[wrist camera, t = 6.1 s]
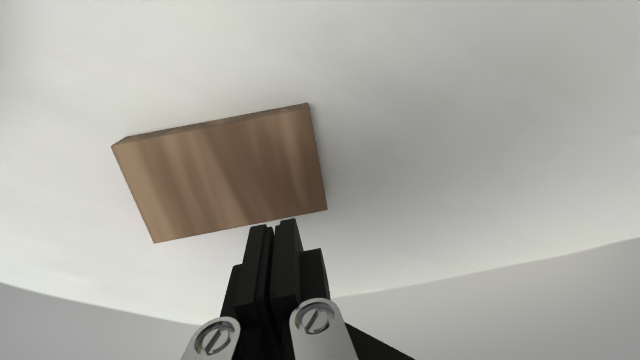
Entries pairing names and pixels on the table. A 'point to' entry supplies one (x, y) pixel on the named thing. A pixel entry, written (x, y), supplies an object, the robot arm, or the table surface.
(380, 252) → the table surface
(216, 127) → the walnut slab
